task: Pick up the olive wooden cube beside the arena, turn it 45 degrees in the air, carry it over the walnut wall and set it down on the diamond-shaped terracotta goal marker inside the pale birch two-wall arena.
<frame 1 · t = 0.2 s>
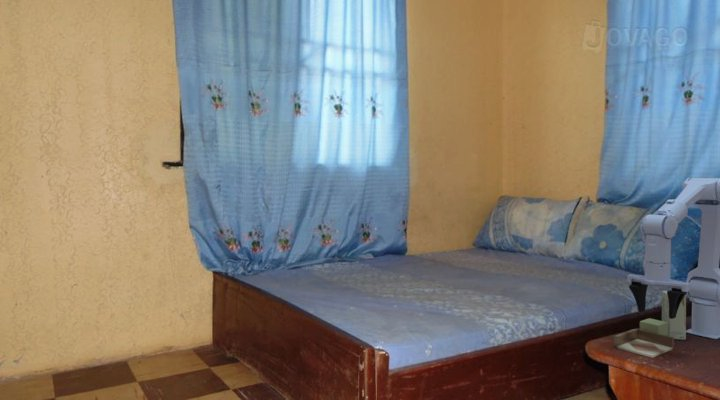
hand: (656, 314, 137), 10 cm above the table, fingers open, 7 cm apart
olive cube: (653, 339, 147), on the table
arena: (643, 347, 140), on the table
skincare box: (673, 337, 150), on the table
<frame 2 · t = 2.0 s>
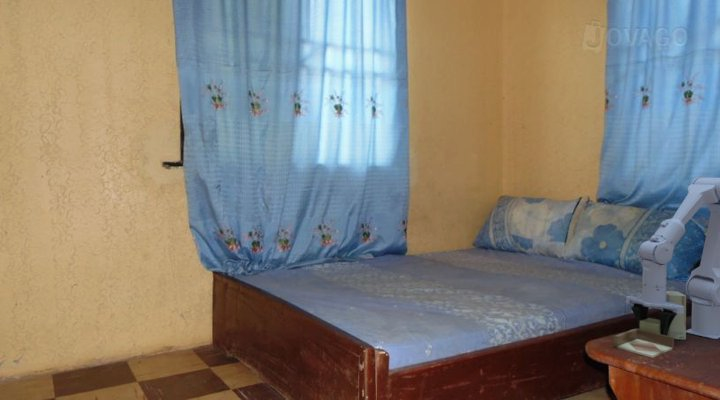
hand: (653, 334, 147), 1 cm above the table, fingers closed on olive cube, 5 cm apart
olive cube: (653, 339, 147), on the table, touching gripper
everything else where it was.
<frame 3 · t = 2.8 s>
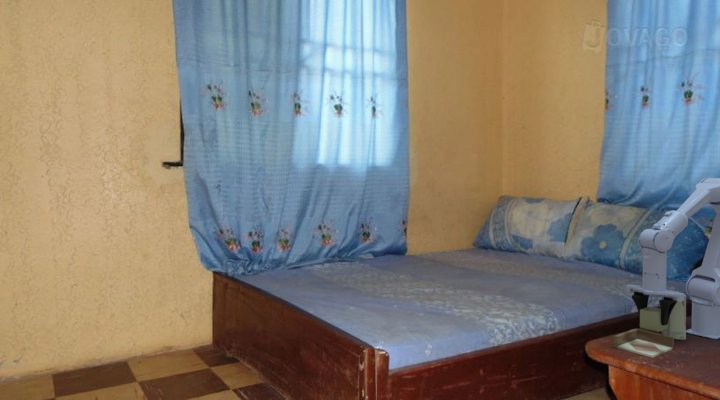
hand: (653, 322, 147), 5 cm above the table, fingers closed on olive cube, 5 cm apart
olive cube: (653, 327, 147), point 3 cm above the table, touching gripper
everything else where it was.
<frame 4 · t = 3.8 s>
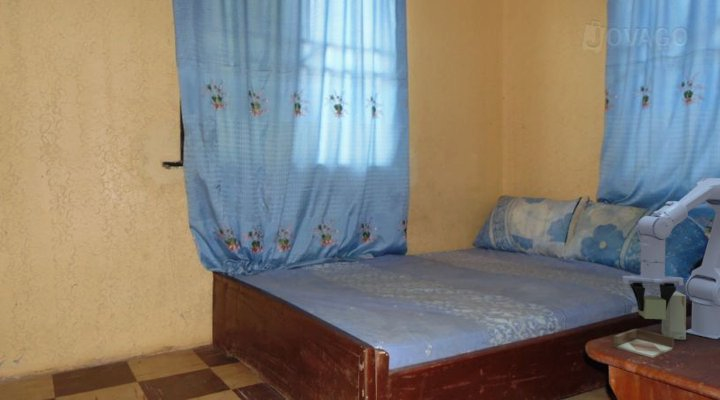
hand: (651, 310, 145), 8 cm above the table, fingers closed on olive cube, 5 cm apart
olive cube: (652, 316, 145), point 7 cm above the table, touching gripper
everything else where it was.
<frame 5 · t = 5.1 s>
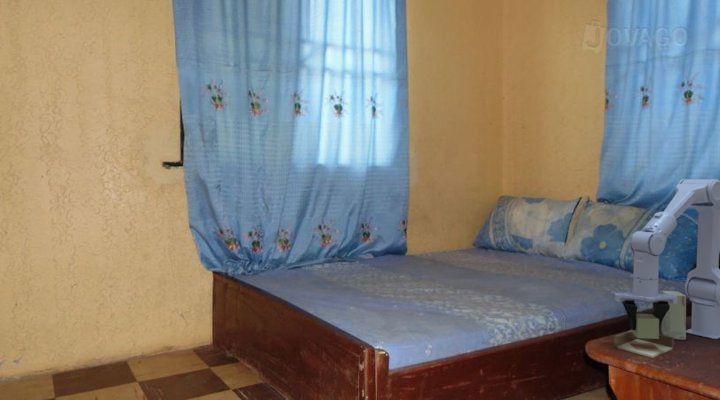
hand: (644, 329, 139), 5 cm above the table, fingers closed on olive cube, 5 cm apart
olive cube: (644, 335, 139), point 4 cm above the table, touching gripper
everything else where it was.
when the fingers open (3 cm above the table, at t = 6.0 s): olive cube stays where it is, resting on arena.
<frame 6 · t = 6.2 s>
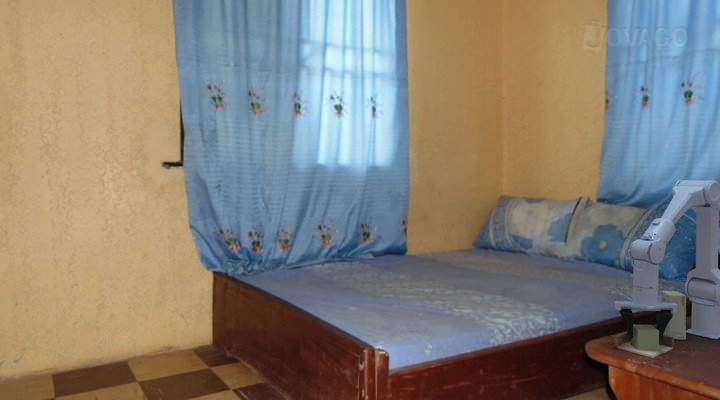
hand: (644, 337, 140), 3 cm above the table, fingers open, 6 cm apart
olive cube: (644, 346, 140), point 1 cm above the table, touching arena
everything else where it was.
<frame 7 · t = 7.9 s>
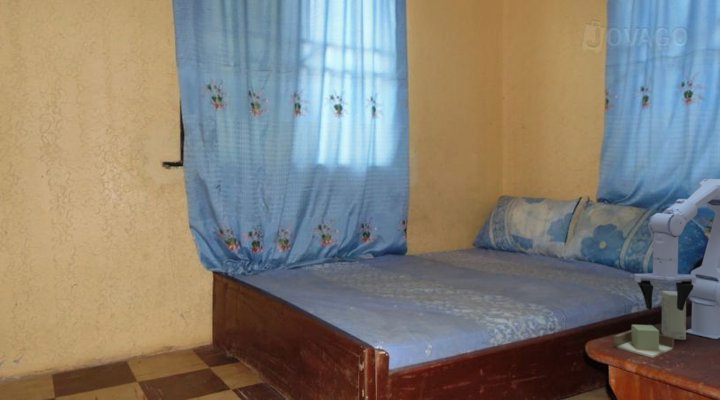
hand: (664, 309, 143), 9 cm above the table, fingers open, 7 cm apart
nothing on the table moved.
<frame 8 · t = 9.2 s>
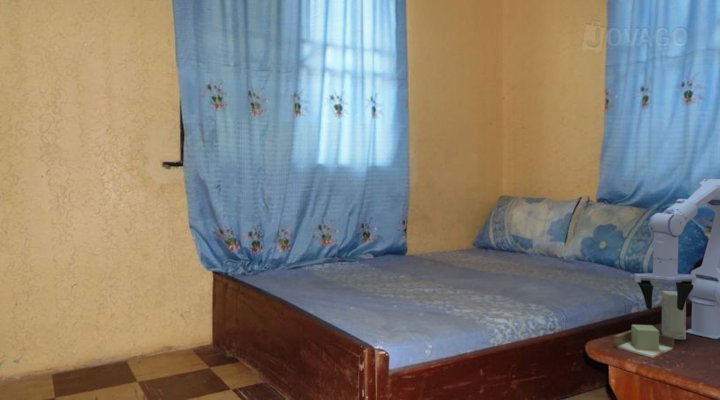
hand: (664, 309, 143), 9 cm above the table, fingers open, 7 cm apart
nothing on the table moved.
at the end: olive cube 0.0 cm from the target spot, point 0.6 cm above the table; olive cube tilted 0°; the gripper is holding nothing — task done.
